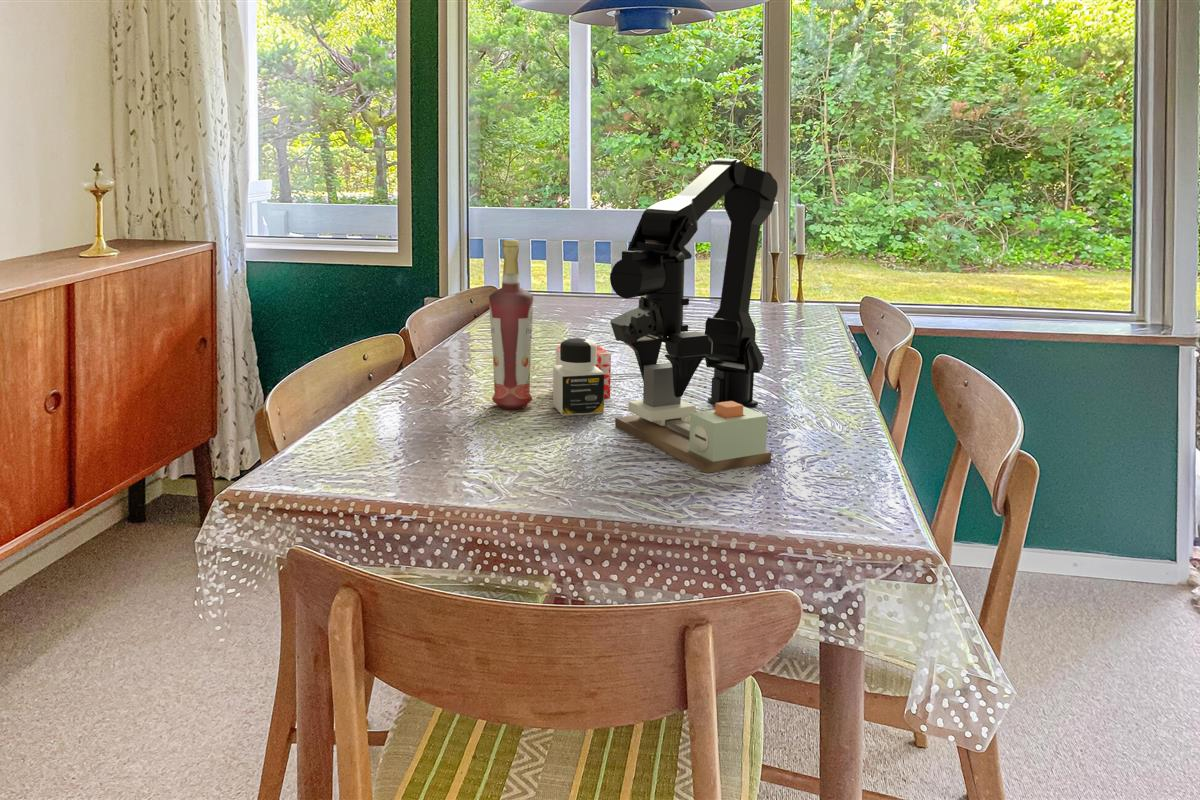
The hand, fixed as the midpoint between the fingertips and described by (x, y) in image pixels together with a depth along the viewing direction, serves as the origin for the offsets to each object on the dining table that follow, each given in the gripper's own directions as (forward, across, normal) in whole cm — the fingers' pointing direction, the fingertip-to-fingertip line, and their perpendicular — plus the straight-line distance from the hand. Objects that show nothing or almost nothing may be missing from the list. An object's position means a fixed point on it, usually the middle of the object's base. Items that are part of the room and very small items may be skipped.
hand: (662, 390), depth 164 cm
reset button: (+2, +18, 0) cm, 18 cm away
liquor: (+7, -24, -15) cm, 29 cm away
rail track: (+6, +8, 0) cm, 10 cm away
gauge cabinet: (+5, +18, 0) cm, 19 cm away
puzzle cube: (+7, -27, 0) cm, 28 cm away
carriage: (+4, 0, 0) cm, 4 cm away
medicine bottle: (+7, -17, -6) cm, 19 cm away
